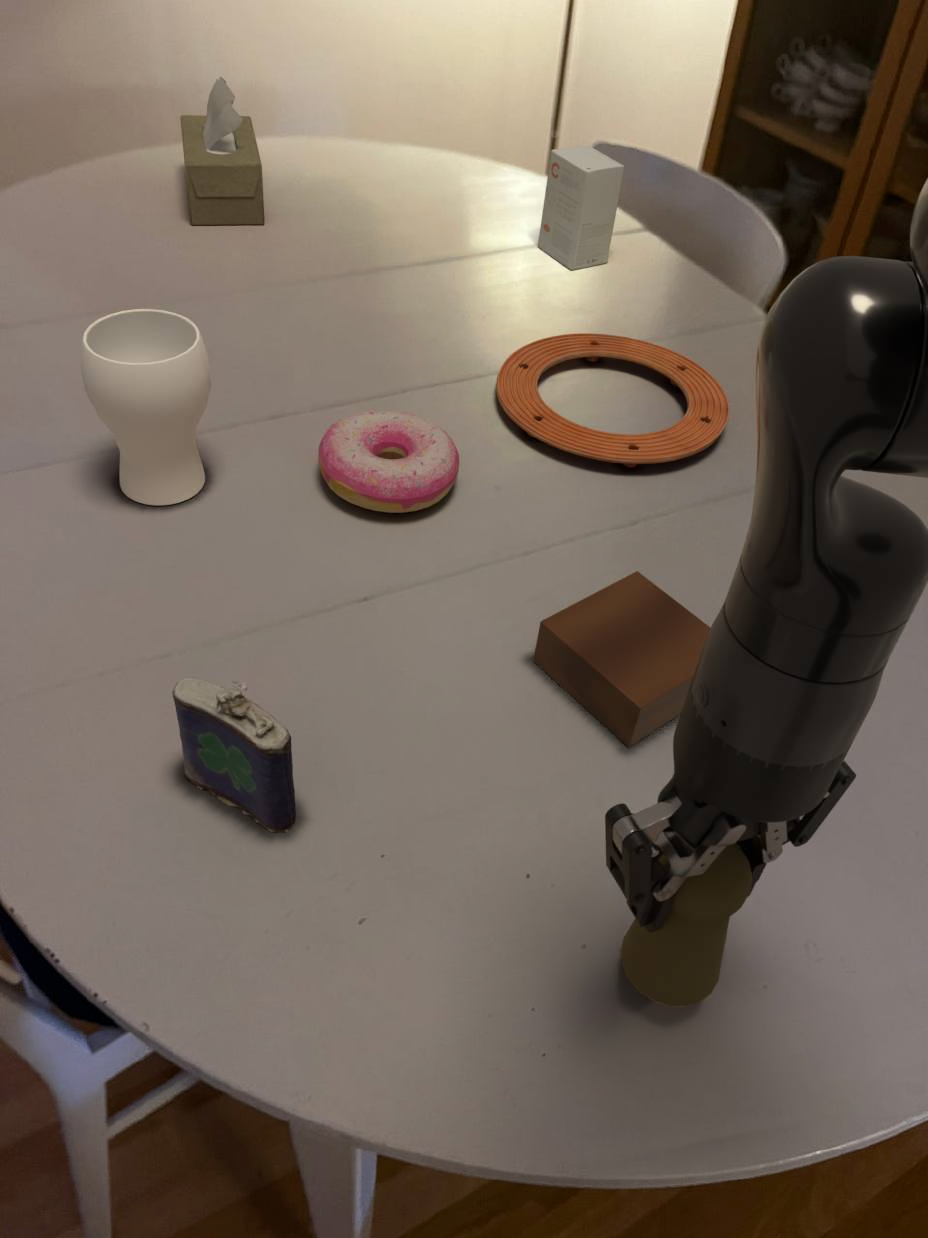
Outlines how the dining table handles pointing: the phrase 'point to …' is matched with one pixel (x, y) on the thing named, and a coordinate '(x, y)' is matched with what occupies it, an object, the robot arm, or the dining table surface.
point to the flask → (236, 751)
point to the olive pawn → (689, 934)
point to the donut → (388, 461)
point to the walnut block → (624, 655)
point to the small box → (580, 206)
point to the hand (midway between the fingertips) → (689, 900)
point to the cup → (150, 399)
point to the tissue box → (222, 164)
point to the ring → (629, 449)
